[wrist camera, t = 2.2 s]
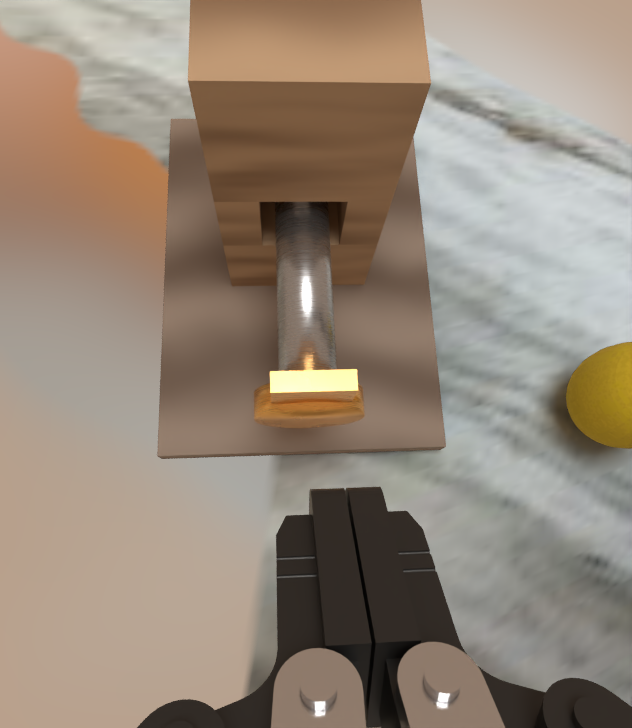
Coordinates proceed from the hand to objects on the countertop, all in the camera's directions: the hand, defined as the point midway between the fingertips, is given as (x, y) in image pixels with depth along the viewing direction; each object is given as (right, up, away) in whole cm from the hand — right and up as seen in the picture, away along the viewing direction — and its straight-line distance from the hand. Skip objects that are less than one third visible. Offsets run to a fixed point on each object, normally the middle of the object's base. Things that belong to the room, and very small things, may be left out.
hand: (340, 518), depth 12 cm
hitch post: (-2, +9, +23) cm, 25 cm away
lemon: (+16, 0, +22) cm, 27 cm away
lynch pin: (-1, +6, +16) cm, 18 cm away
